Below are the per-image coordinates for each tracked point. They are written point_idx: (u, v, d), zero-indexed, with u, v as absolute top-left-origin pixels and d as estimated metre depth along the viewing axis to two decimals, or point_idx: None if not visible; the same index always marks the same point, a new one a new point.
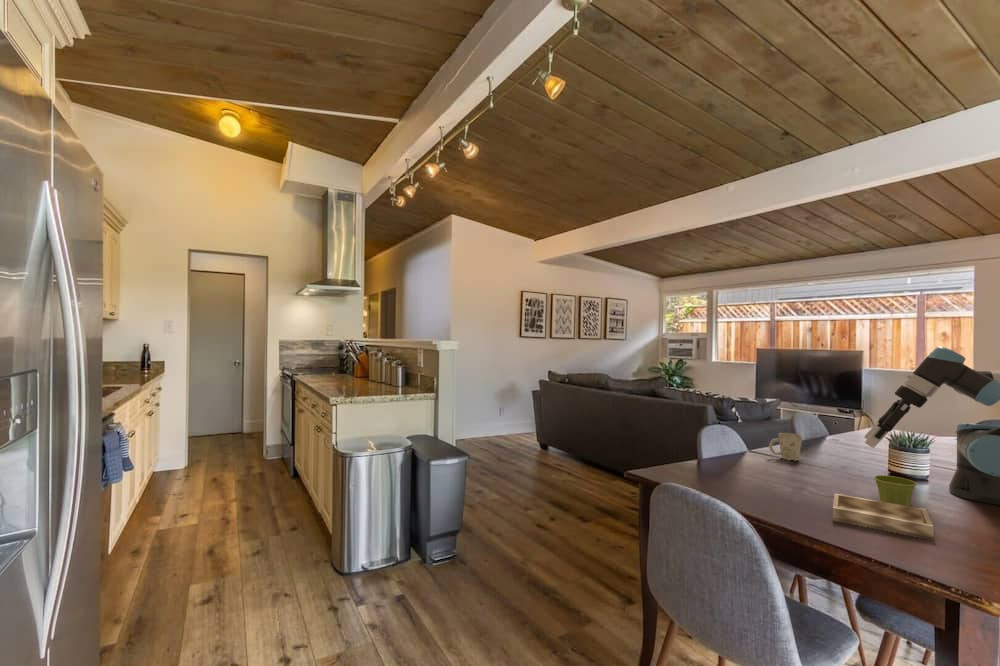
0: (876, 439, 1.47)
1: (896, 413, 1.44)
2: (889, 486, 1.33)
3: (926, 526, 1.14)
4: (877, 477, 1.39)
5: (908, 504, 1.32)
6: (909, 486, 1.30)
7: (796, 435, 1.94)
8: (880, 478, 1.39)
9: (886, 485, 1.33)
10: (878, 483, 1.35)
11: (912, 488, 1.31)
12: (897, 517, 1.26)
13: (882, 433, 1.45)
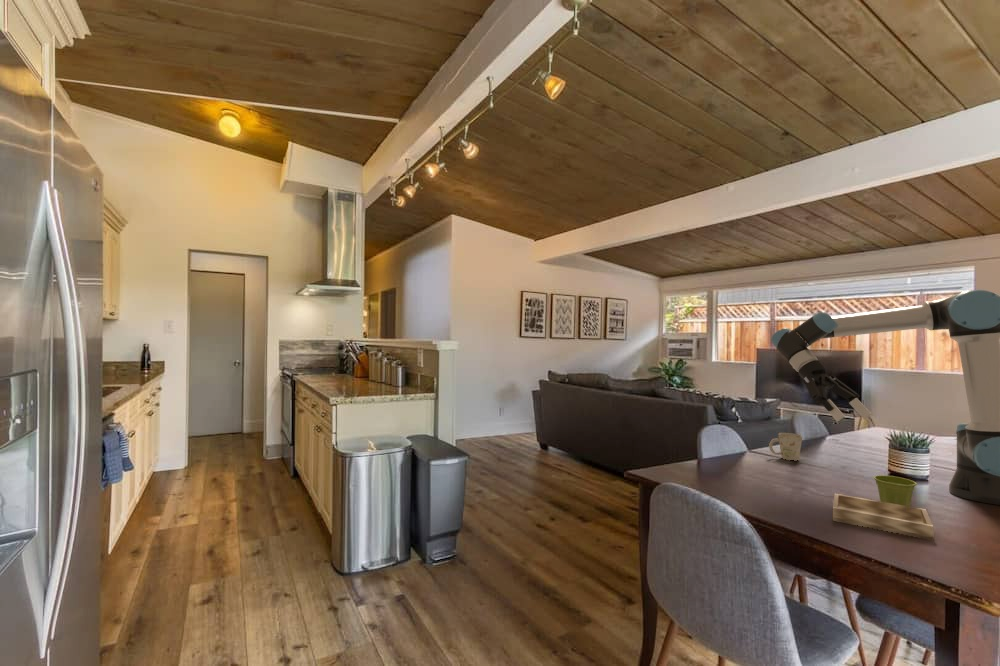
0: (834, 410, 1.44)
1: (809, 386, 1.51)
2: (889, 486, 1.33)
3: (926, 526, 1.14)
4: (877, 477, 1.39)
5: (908, 504, 1.32)
6: (909, 486, 1.30)
7: (796, 435, 1.94)
8: (880, 478, 1.39)
9: (886, 485, 1.33)
10: (878, 483, 1.35)
11: (912, 488, 1.31)
12: (897, 517, 1.26)
13: (825, 403, 1.45)
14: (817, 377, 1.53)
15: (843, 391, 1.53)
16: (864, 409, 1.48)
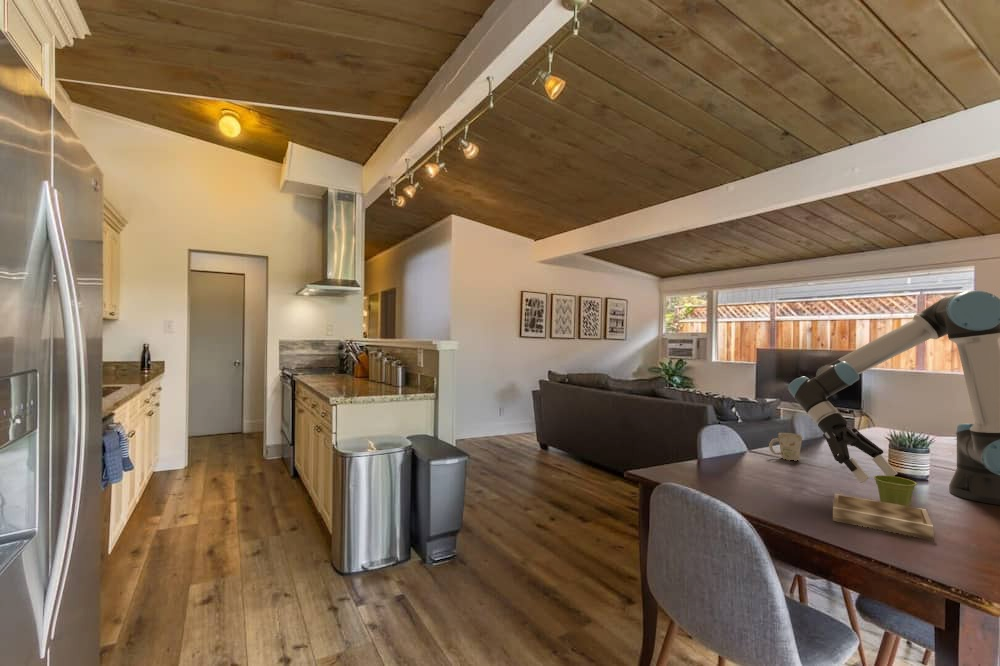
0: (858, 471, 1.36)
1: (830, 443, 1.43)
2: (889, 486, 1.33)
3: (926, 526, 1.14)
4: (877, 477, 1.39)
5: (908, 504, 1.32)
6: (909, 486, 1.30)
7: (796, 435, 1.94)
8: (880, 478, 1.39)
9: (886, 485, 1.33)
10: (878, 483, 1.35)
11: (912, 488, 1.31)
12: (897, 517, 1.26)
13: (848, 463, 1.38)
14: (838, 432, 1.46)
15: (866, 447, 1.45)
16: (889, 467, 1.41)
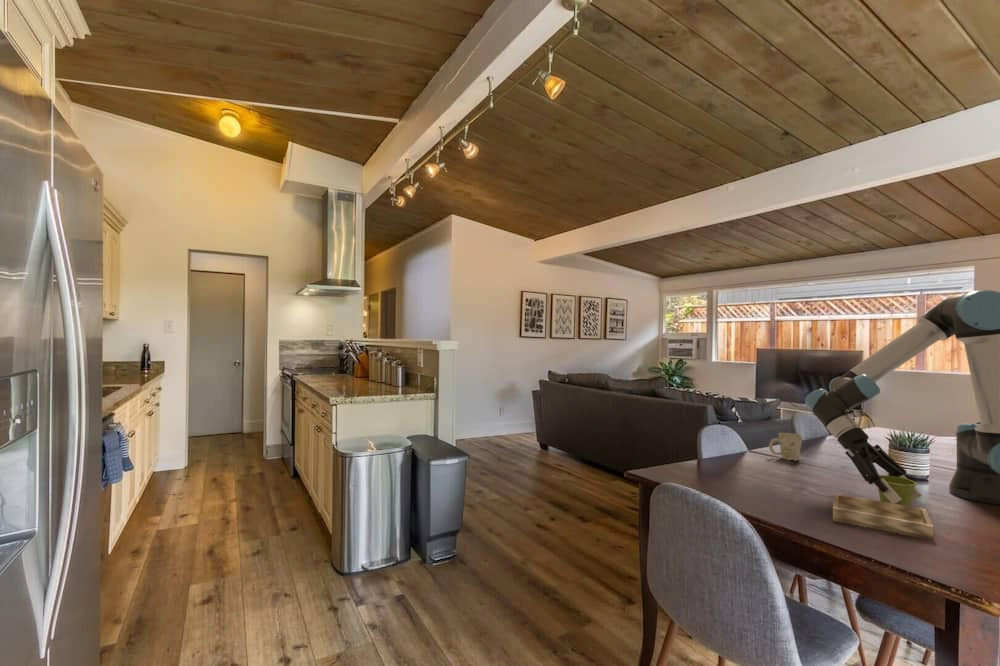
0: (889, 492, 1.31)
1: (855, 461, 1.38)
2: None
3: (926, 526, 1.14)
4: None
5: (908, 504, 1.32)
6: (909, 486, 1.30)
7: (796, 435, 1.94)
8: (880, 478, 1.39)
9: None
10: None
11: (912, 488, 1.31)
12: (897, 517, 1.26)
13: (879, 484, 1.33)
14: (859, 447, 1.41)
15: (888, 465, 1.39)
16: None
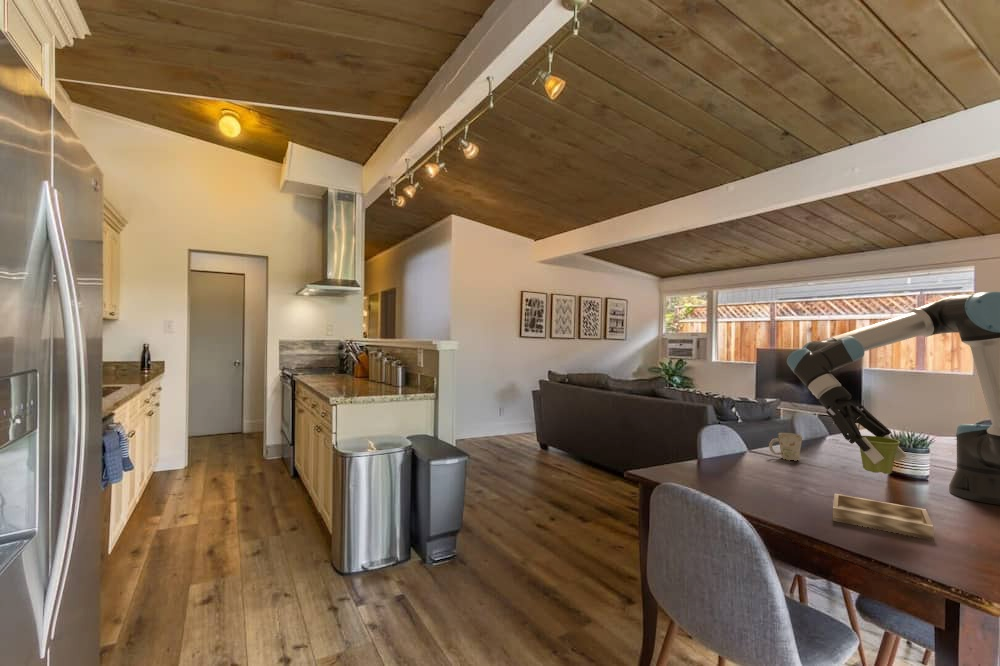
0: (871, 451, 1.23)
1: (836, 420, 1.30)
2: None
3: (926, 526, 1.14)
4: None
5: (891, 464, 1.23)
6: (892, 444, 1.22)
7: (796, 435, 1.94)
8: None
9: None
10: None
11: (895, 447, 1.23)
12: (897, 517, 1.26)
13: (860, 442, 1.24)
14: (841, 406, 1.33)
15: (871, 425, 1.31)
16: (897, 449, 1.26)
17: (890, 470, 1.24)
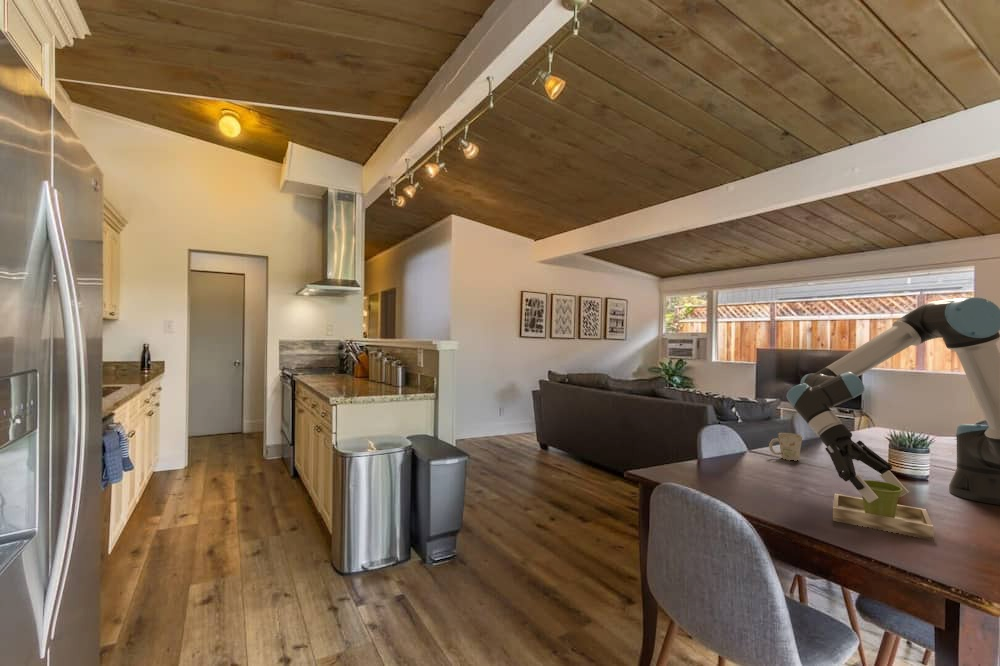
0: (865, 489, 1.22)
1: (833, 458, 1.29)
2: None
3: (926, 526, 1.14)
4: None
5: (893, 511, 1.23)
6: (894, 492, 1.21)
7: (796, 435, 1.94)
8: None
9: None
10: None
11: (898, 494, 1.22)
12: (897, 517, 1.26)
13: (854, 481, 1.24)
14: (842, 445, 1.32)
15: (873, 462, 1.31)
16: (899, 485, 1.27)
17: None
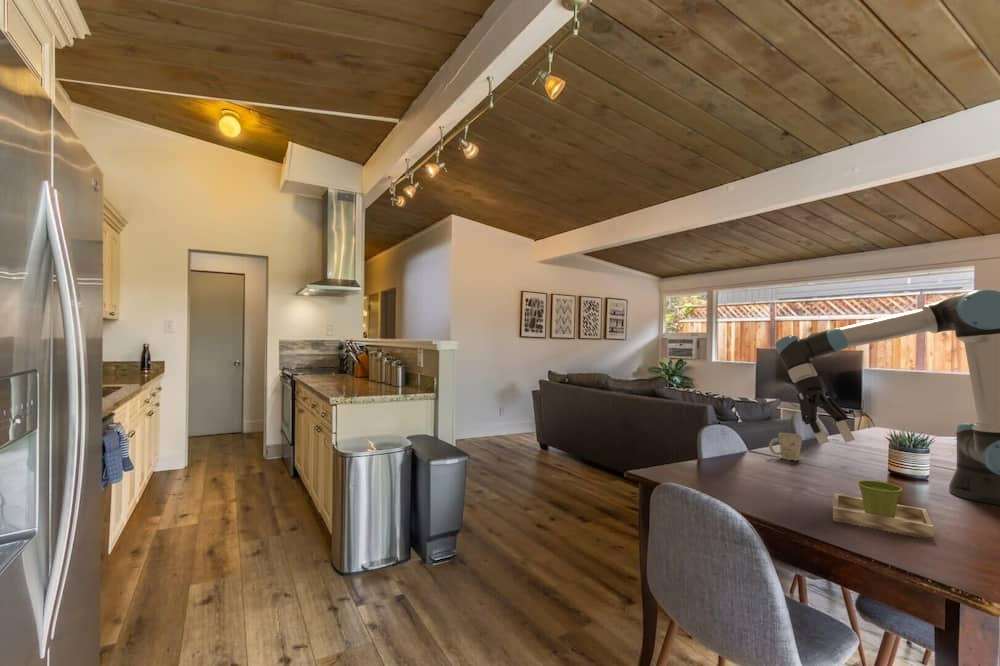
0: (820, 433, 1.43)
1: (801, 403, 1.48)
2: (873, 493, 1.24)
3: (926, 526, 1.14)
4: (861, 482, 1.30)
5: (893, 511, 1.23)
6: (894, 492, 1.21)
7: (796, 435, 1.94)
8: (864, 483, 1.30)
9: (871, 491, 1.24)
10: (862, 489, 1.26)
11: (898, 494, 1.22)
12: (897, 517, 1.26)
13: (814, 425, 1.44)
14: (812, 394, 1.50)
15: (833, 411, 1.51)
16: (848, 433, 1.48)
17: None
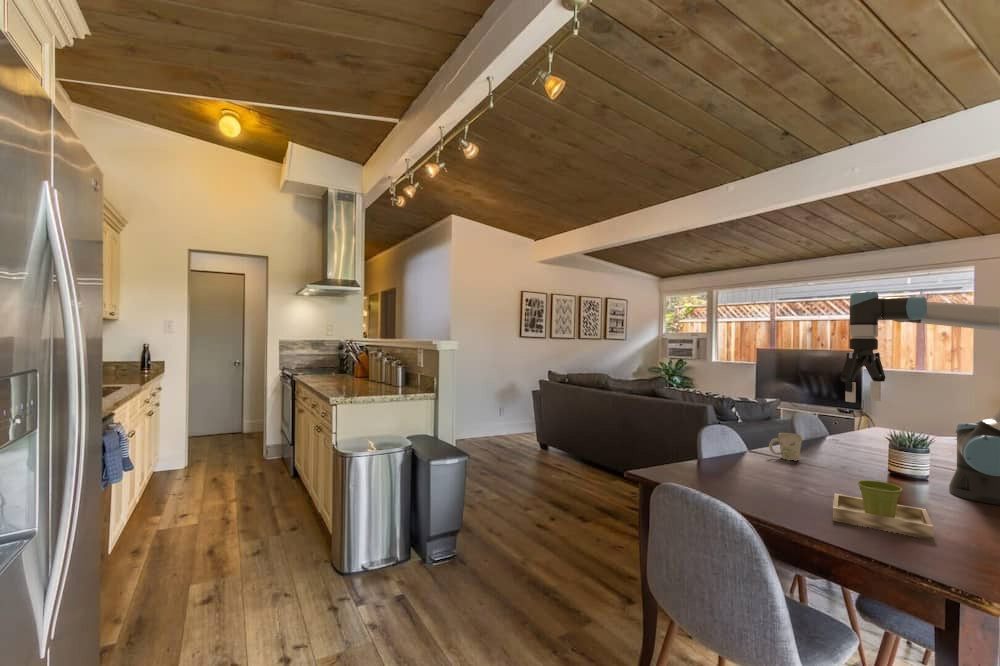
0: (851, 393, 1.53)
1: (847, 362, 1.54)
2: (873, 493, 1.24)
3: (926, 526, 1.14)
4: (861, 482, 1.30)
5: (893, 511, 1.23)
6: (894, 492, 1.21)
7: (796, 435, 1.94)
8: (864, 483, 1.30)
9: (871, 491, 1.24)
10: (862, 489, 1.26)
11: (898, 494, 1.22)
12: (897, 517, 1.26)
13: (848, 385, 1.52)
14: (862, 355, 1.54)
15: (874, 372, 1.57)
16: (877, 394, 1.58)
17: None
